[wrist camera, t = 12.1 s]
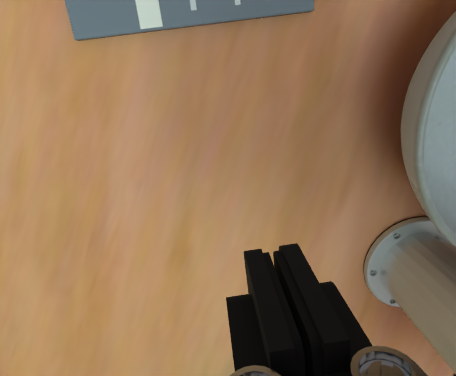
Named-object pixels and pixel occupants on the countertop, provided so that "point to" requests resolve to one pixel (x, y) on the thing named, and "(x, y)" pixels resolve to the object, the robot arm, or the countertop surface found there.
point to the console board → (168, 14)
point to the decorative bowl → (433, 131)
